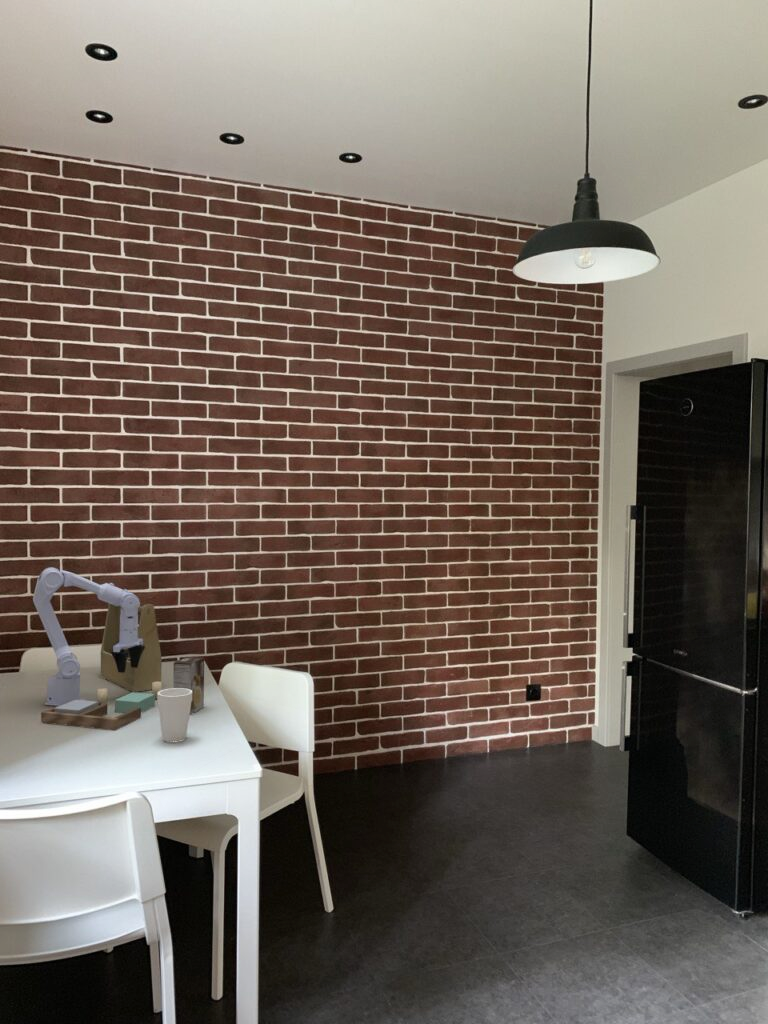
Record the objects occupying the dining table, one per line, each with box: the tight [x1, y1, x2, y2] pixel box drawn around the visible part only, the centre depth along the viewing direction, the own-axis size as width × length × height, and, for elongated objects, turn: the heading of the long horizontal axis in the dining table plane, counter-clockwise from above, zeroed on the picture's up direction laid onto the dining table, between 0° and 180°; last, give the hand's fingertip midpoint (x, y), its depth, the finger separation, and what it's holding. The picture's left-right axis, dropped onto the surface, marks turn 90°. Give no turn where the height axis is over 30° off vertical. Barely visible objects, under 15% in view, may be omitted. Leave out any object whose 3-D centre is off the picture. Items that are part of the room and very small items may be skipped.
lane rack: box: [40, 701, 142, 731], centre depth 224 cm, size 24×14×3 cm, turn 77°
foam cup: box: [156, 687, 192, 743], centre depth 208 cm, size 10×9×13 cm
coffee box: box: [172, 656, 205, 715], centre depth 237 cm, size 9×6×16 cm
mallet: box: [114, 681, 163, 714], centre depth 242 cm, size 8×20×6 cm, turn 168°
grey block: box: [53, 687, 108, 714], centre depth 232 cm, size 8×20×6 cm, turn 168°
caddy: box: [100, 603, 163, 693], centre depth 271 cm, size 29×11×30 cm, turn 42°
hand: (128, 669), depth 250 cm, fingers open, 7 cm apart
